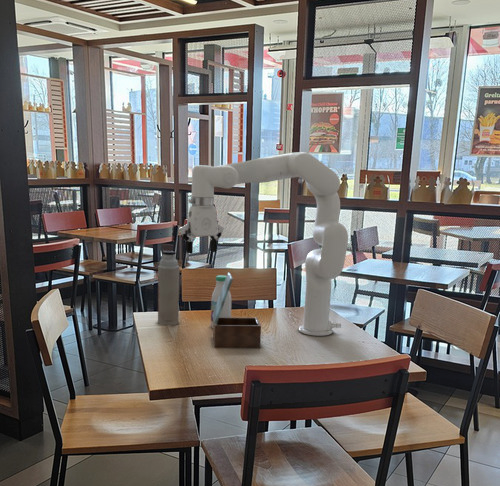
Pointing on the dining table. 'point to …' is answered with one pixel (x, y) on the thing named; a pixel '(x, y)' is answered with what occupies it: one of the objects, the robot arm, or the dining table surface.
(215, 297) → the milk bottle
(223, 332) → the brown wooden box
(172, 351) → the dining table surface
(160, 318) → the thermos bottle
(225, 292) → the light blue flat slab
